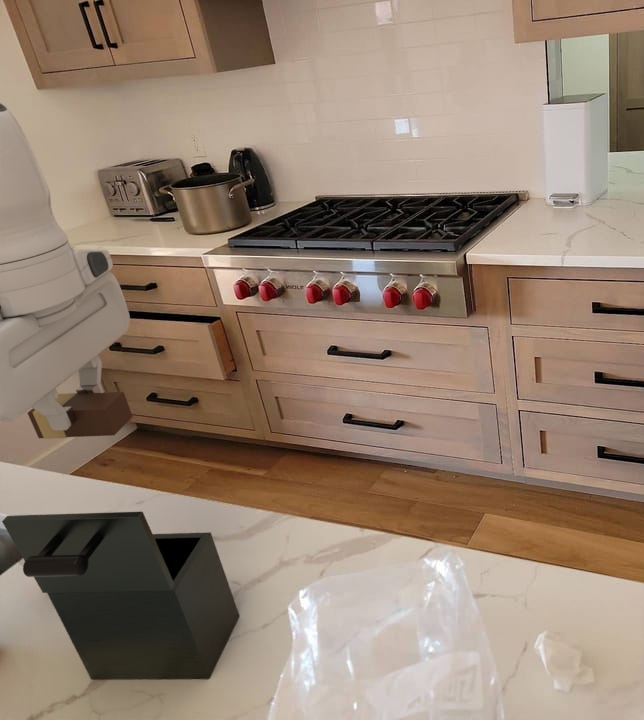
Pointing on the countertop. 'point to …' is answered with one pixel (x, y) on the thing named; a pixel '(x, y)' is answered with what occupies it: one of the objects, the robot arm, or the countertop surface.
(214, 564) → the bin
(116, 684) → the countertop surface
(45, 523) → the bin lid
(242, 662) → the countertop surface
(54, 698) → the countertop surface
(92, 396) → the chocolate
